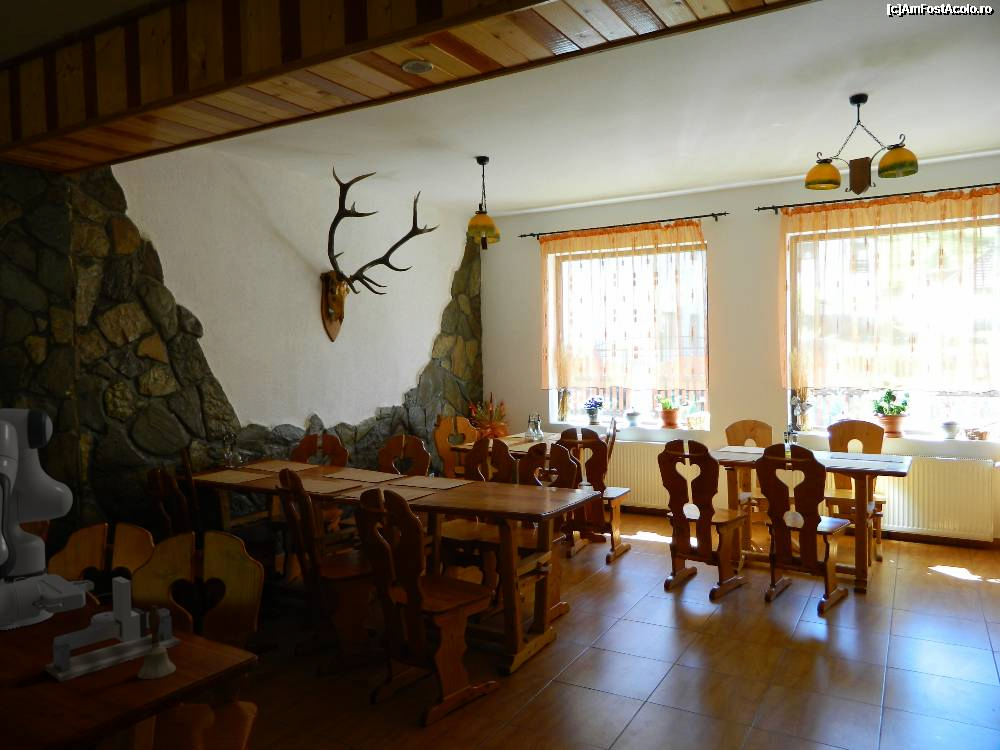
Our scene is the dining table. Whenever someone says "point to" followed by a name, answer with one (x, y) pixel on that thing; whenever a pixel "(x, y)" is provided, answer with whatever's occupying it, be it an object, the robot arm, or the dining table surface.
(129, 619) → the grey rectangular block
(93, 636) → the grey clamp fixture
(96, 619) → the mechanical component
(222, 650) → the dining table surface
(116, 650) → the base board
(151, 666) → the hand bell
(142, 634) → the dark grey rubber pad
